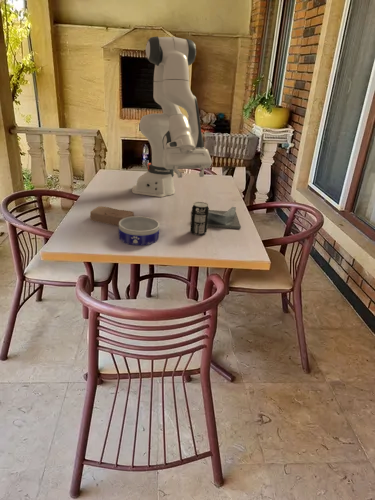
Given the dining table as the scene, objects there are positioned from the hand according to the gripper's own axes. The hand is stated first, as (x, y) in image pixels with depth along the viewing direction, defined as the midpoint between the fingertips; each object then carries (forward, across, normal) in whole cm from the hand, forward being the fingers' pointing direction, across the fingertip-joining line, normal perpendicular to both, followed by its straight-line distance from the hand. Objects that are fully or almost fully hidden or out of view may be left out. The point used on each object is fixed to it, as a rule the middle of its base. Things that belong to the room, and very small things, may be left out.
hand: (191, 176), depth 154 cm
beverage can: (+22, 0, -7) cm, 23 cm away
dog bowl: (+22, +24, -6) cm, 34 cm away
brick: (+9, +32, -19) cm, 38 cm away
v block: (+13, -13, -15) cm, 24 cm away
